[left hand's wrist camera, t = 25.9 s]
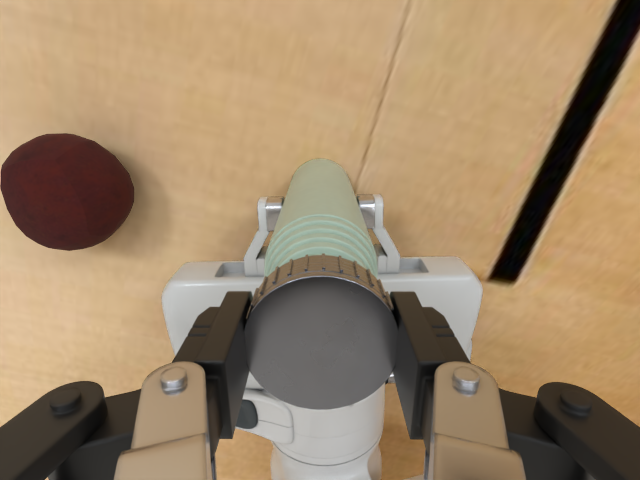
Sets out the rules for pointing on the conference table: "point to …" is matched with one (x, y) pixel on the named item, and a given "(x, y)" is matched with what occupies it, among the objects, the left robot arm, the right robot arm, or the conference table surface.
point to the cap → (321, 333)
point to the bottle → (320, 219)
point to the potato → (66, 191)
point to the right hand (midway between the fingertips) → (319, 197)
